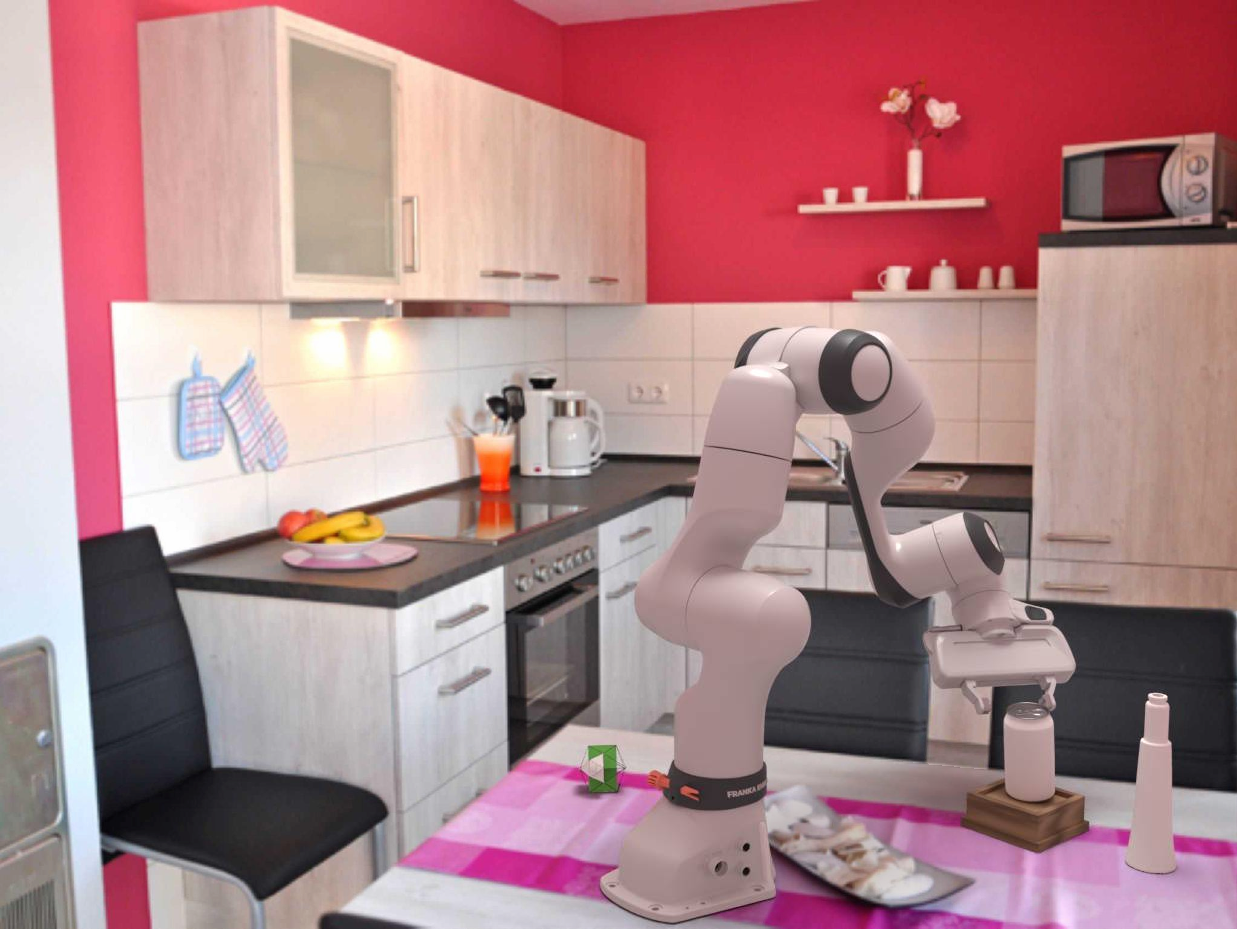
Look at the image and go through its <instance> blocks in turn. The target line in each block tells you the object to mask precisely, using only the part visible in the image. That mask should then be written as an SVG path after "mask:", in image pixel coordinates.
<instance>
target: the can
mask: <svg viewBox="0 0 1237 929" xmlns="http://www.w3.org/2000/svg"><path fill="white" fill-rule="evenodd" d="M1054 726H1055V724H1054V720H1053V717H1052V715H1051V711H1050V710H1049V708H1048V707H1046V706H1044V705H1041V704H1039V703H1037V702H1029V701H1028V702H1017V703H1013V704H1010V705H1008V707H1006V714H1005V715H1004V718H1003V751H1004V752H1003V755H1004V757H1003V758H1004V759H1003V760H1004V778H1005V788H1006V792H1007V793H1008V794H1009V795H1010V796H1011V797H1012V798H1014V799H1016V800H1019V801H1023V802H1032V803H1033V802H1042V801H1046V800H1048V799H1050V798H1051V797H1052V796H1053V795H1054V793H1055V787H1056V775H1055V774H1056V773H1055V771H1056V770H1055V768H1056V766H1055V764H1056V763H1055V762H1056V761H1055V733H1054V732H1055V727H1054Z"/></svg>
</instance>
